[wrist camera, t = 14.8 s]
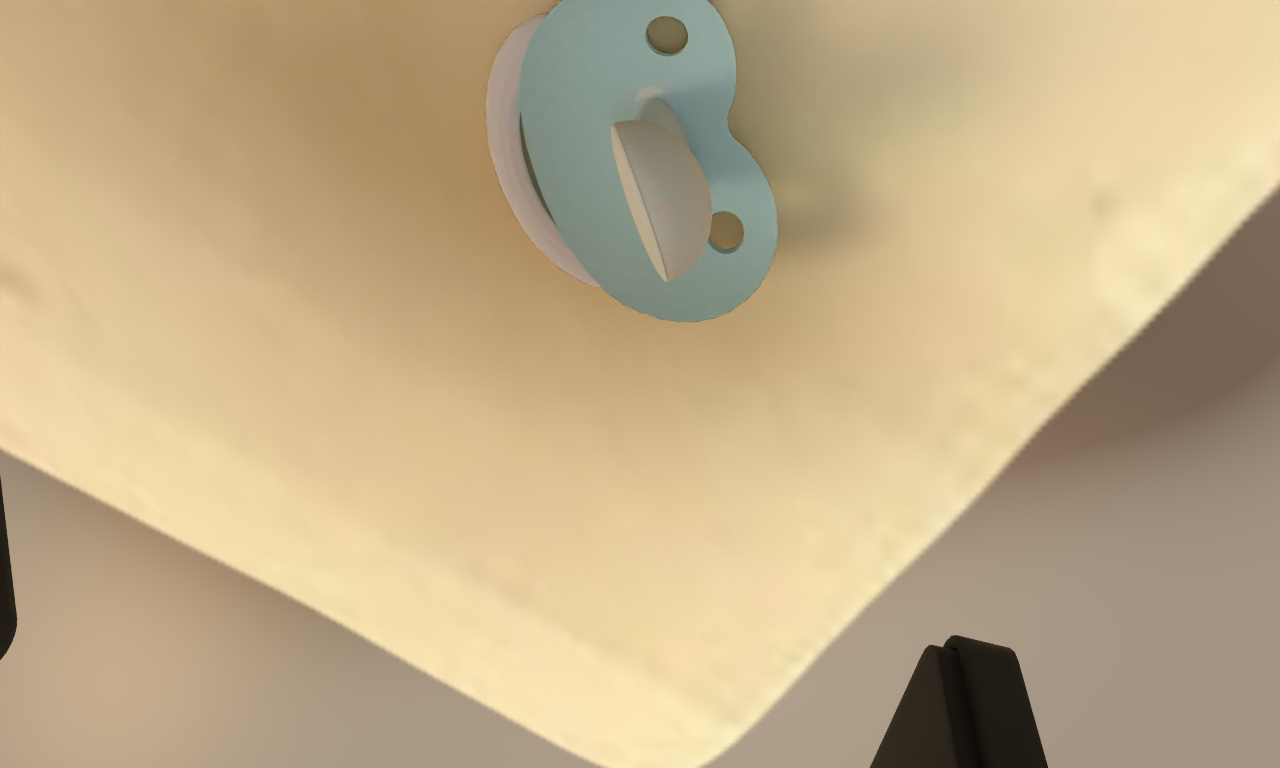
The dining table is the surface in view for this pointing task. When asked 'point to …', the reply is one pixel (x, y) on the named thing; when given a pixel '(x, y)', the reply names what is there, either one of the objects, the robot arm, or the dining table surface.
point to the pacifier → (630, 155)
